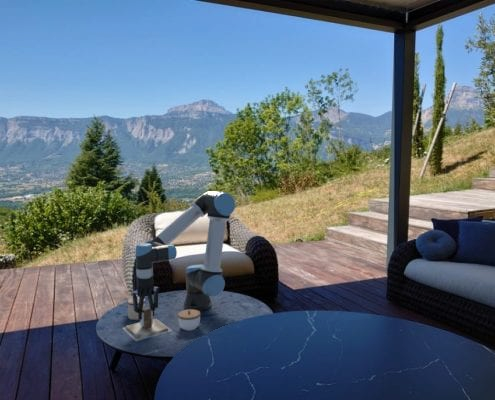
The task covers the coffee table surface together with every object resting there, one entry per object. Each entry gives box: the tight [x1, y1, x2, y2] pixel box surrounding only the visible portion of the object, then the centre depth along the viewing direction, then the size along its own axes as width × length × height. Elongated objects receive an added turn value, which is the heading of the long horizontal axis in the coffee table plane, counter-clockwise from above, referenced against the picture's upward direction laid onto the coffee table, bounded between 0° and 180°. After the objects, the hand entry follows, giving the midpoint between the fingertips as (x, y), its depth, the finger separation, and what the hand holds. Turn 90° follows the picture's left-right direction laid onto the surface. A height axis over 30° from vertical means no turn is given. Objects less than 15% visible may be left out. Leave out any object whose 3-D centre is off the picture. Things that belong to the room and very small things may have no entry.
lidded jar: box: [177, 309, 201, 332], centre depth 196 cm, size 11×11×9 cm
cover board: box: [125, 306, 169, 339], centre depth 195 cm, size 15×15×10 cm
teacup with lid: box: [126, 294, 146, 321], centre depth 212 cm, size 12×9×12 cm
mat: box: [121, 319, 173, 342], centre depth 196 cm, size 18×18×1 cm
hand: (146, 324), depth 195 cm, fingers open, 4 cm apart
